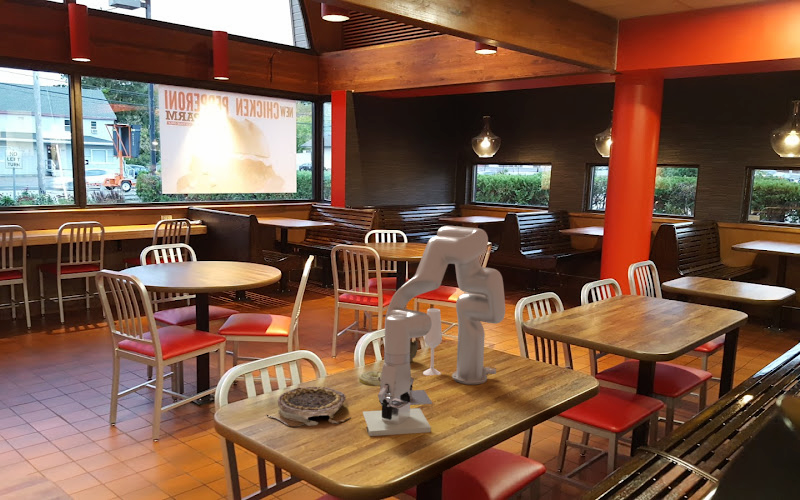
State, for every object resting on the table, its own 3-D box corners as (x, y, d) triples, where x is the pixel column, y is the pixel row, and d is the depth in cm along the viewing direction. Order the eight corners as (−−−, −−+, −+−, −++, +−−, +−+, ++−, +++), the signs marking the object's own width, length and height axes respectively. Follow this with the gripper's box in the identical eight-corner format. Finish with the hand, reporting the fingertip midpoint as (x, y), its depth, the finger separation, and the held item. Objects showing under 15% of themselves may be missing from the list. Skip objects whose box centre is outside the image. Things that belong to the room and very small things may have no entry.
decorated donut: (381, 392, 208) (381, 381, 208) (353, 386, 213) (353, 376, 212) (394, 382, 217) (394, 372, 217) (368, 377, 222) (368, 367, 222)
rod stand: (423, 394, 207) (424, 379, 206) (432, 408, 195) (433, 393, 194) (382, 396, 204) (383, 381, 203) (389, 410, 192) (389, 395, 191)
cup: (395, 362, 238) (395, 342, 237) (404, 357, 245) (404, 338, 244) (412, 366, 235) (412, 345, 234) (420, 360, 242) (421, 341, 240)
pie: (250, 408, 193) (250, 393, 192) (320, 388, 212) (320, 375, 211) (302, 438, 173) (303, 421, 172) (375, 413, 192) (375, 398, 191)
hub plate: (419, 412, 191) (420, 392, 190) (430, 432, 178) (431, 410, 177) (362, 416, 187) (362, 395, 187) (369, 436, 174) (369, 414, 173)
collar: (393, 413, 186) (393, 397, 186) (409, 418, 183) (410, 402, 182) (381, 420, 181) (382, 403, 181) (398, 425, 178) (398, 408, 177)
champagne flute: (419, 371, 229) (421, 308, 226) (435, 369, 232) (437, 307, 229) (428, 377, 223) (429, 312, 220) (444, 374, 226) (446, 311, 223)
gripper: (402, 347, 189) (401, 400, 191) (369, 362, 175) (368, 419, 177) (423, 352, 185) (422, 406, 187) (391, 367, 170) (390, 426, 173)
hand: (396, 412), depth 182 cm, fingers open, 9 cm apart
